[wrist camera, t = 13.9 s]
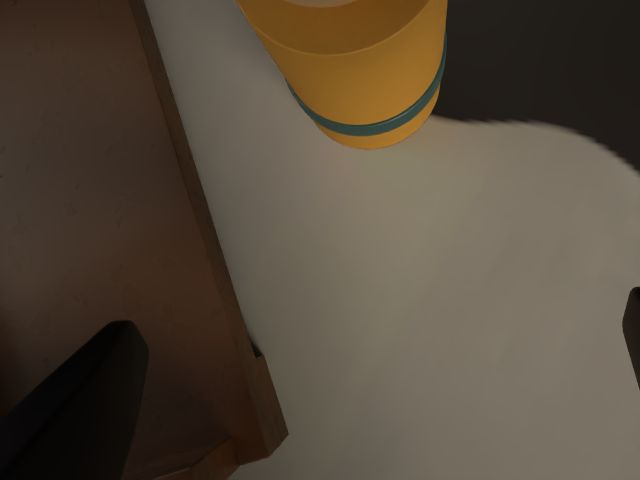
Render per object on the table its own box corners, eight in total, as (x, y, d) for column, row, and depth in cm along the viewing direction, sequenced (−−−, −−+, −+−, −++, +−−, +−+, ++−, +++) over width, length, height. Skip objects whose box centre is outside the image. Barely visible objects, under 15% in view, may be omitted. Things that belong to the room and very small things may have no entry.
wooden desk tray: (289, 435, 19) (237, 494, 13) (7, 522, 21) (-138, 605, 15) (125, -88, 22) (29, -208, 17) (-108, 28, 24) (-262, -48, 18)
